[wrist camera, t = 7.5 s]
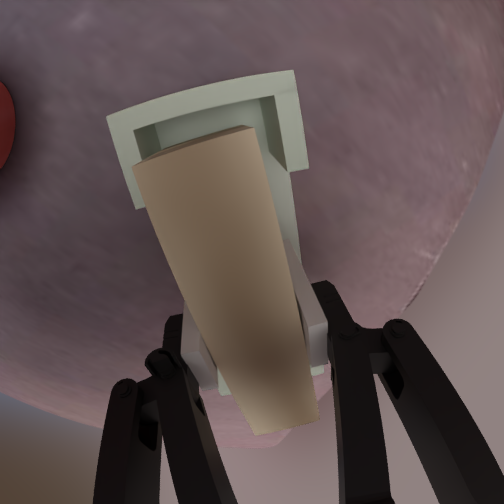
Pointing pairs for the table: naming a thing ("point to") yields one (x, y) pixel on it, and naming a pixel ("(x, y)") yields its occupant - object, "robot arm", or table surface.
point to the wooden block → (233, 270)
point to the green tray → (219, 118)
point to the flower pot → (6, 124)
